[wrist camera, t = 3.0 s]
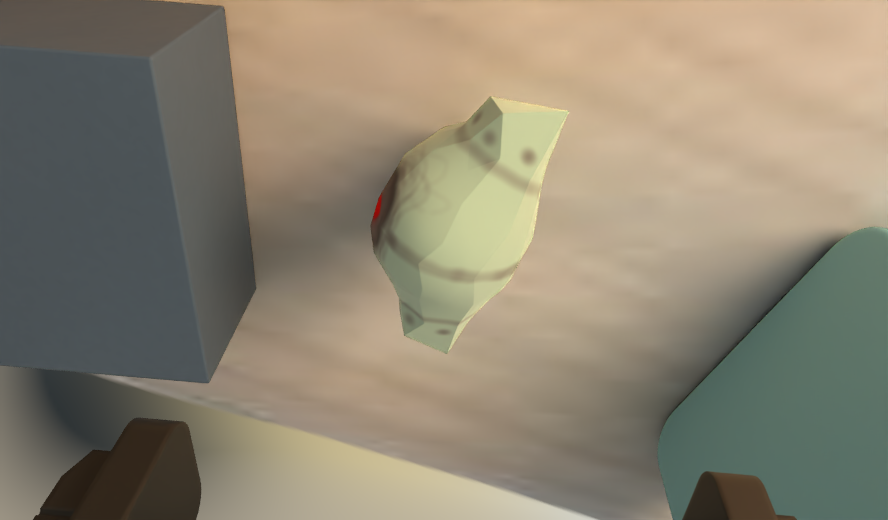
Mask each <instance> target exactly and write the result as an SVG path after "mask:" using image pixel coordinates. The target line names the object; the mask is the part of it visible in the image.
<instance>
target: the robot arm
mask: <svg viewBox="0 0 888 520" xmlns="http://www.w3.org/2000/svg"><path fill="white" fill-rule="evenodd" d="M200 499H201V482H200V477H199V473H198V468H197V463H196V459H195V454H194V449H193V445H192V440H191V436H190V431H189V427H188V425H187V424H186V423H185V422H180V421H170V420H169V421H168V420H158V419H148V418H135V419H133V420H132V421H130V423H128V425H127V426H126V428H125V429H124V431H123V432H122V434H121V436H120V437H119V439H118V440H117V442H116V444H115V445H114V447H113V449H112V450H111V451H102V450H93V451H91V452H90V453H89V454H88V455H87V456H85V457H84V458H83V459H82V460H81V461H79V463H77V464H76V465H75V466H73V467H72V468H71V469H70V470H69V471H67V472H66V473H65V474H64V475H63V476H62V477H61V478H60V480H59V481H58V483H57V484H56V486H55V487H54V489H53V490H52V492H51V493H50V495H49V496H48V498H47V499H46V501H45V502H44V504H43V506H42V507H41V508H40V514H39V515H36V516H35V517H34V519H33V520H196V517H197V514H198V510H199V505H200ZM682 520H797V519H796V518H795V517H794V516H786V515H776V513H775V511H774V508H773V506H772V503H771V501H770V499H769V496H768V494H767V491H766V489H765V487H764V484H763V483H762V481H761V480H760V479H759V478H758V477H756V476H753V475H743V474H732V473H721V472H710V471H705V472H703V473H702V474H701V476H700V478H699V480H698V482H697V485H696V487H695V490H694V492H693V495H692V497H691V499H690V502H689V504H688V507H687V509H686V511H685V514H684V516H683V519H682Z"/></svg>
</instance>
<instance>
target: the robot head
mask: <svg viewBox="0 0 888 520" xmlns="http://www.w3.org/2000/svg"><path fill="white" fill-rule="evenodd" d="M568 112H569V111H566V110H561V109H556V108H550V107H545V106H540V105H534V104H529V103H524V102H519V101H513V100H508V99H503V98H497V97H492V96H490V97H489V99H488V100H487V101H486V102H485V103H484V104H483V105H482V106H481V107H480V108H479V109H478V110H477V111H476V112H475V113H474V114H473V115H472V117H471V118H470V119H469V120H468V121H466V122H462V123H458V124H454V125H450V126H446V127H443V128H442V129H440V130H439V131H437V132H436V133H434V134H433V135H431V136H430V137H429V138H427V139H426V140H424V141H423V142H421V143H420V144H418V145H417V146H415V147H414V148H413V149H411V150H410V151H408V152H407V153H405V155H404V156H403V158H402V160H401V161H400V163H399V165H398V166H397V168H396V170H395V171H394V173H393V175H392V176H391V178H390V180H389V181H388V183H387V185H386V186H385V188H384V190H383V192H382V193H381V195H380V197H379V198H378V202H377V205H376V209H375V212H374V216H373V219H372V222H371V234H372V242H373V250H374V254H375V255H376V257H377V259H378V260H379V262H380V264H381V265H382V267H383V269H384V270H385V272H386V274H387V275H388V277H389V279H390V280H391V282H392V284H393V286H394V288H395V290H396V292H397V295H398V297H399V306H400V315H401V320H402V326H403V331H404V336H406V337H409V338H411V339H413V340H416V341H418V342H420V343H423V344H425V345H427V346H429V347H432V348H434V349H436V350H439V351H441V352H443V353H446V354H447V353H448V352H449V350H450V349H451V347H452V346H453V344H454V343H455V341H456V340H457V338H458V337H459V335H460V333H461V332H462V330H463V329H464V327H465V326H466V324H467V323H468V321H469V320H470V319H471V318H472V317H473V316H474V315H475V314H476V313H477V312H478V311H479V310H480V309H481V308H482V307H483V306H484V305H485V304H486V303H487V302H488V301H489V300H490V299H491V298H493V297H494V296H495V295H496V294H497V293H499V292H500V291H501V290H502V289H503V288H504V287H505V286H506V285H507V283H508V282H509V281H510V280H511V278H512V276H513V274H514V272H515V270H516V268H517V266H518V264H519V262H520V261H521V259H522V257H523V255H524V253H525V251H526V250H527V248H528V246H529V244H530V242H531V241H532V239H533V233H534V228H535V222H536V217H537V211H538V205H539V199H540V193H541V187H542V182H543V178H544V174H545V170H546V167H547V164H548V162H549V159H550V157H551V154H552V152H553V150H554V147H555V145H556V142H557V140H558V137H559V135H560V132H561V130H562V127H563V125H564V122H565V120H566V117H567V115H568Z"/></svg>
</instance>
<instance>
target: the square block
mask: <svg viewBox="0 0 888 520" xmlns="http://www.w3.org/2000/svg"><path fill="white" fill-rule="evenodd" d="M255 290H256V284H255V275H254V266H253V257H252V248H251V240H250V231H249V222H248V213H247V204H246V195H245V187H244V178H243V169H242V160H241V151H240V143H239V134H238V125H237V116H236V107H235V98H234V90H233V81H232V72H231V63H230V54H229V46H228V37H227V28H226V19H225V10H224V7H223V6H215V5H202V4H190V3H177V2H165V1H152V0H0V365H2V366H14V367H25V368H36V369H48V370H59V371H60V370H61V371H71V372H82V373H94V374H105V375H117V376H128V377H140V378H151V379H163V380H174V381H186V382H197V383H209V382H210V380H211V378H212V376H213V374H214V372H215V370H216V368H217V366H218V364H219V362H220V360H221V358H222V356H223V354H224V352H225V350H226V348H227V346H228V344H229V342H230V340H231V338H232V336H233V334H234V332H235V330H236V328H237V326H238V324H239V322H240V320H241V318H242V316H243V314H244V312H245V310H246V308H247V306H248V304H249V302H250V300H251V298H252V296H253V294H254V292H255Z"/></svg>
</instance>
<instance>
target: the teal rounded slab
mask: <svg viewBox="0 0 888 520" xmlns="http://www.w3.org/2000/svg"><path fill="white" fill-rule="evenodd" d="M658 464H659V468H660V472H661V476H662V480H663V483H664V487H665V491H666V495H667V499H668V503H669V506H670V510H671V514H672V518H673V520H682V519H683V516H684V514H685V511H686V509H687V507H688V504H689V502H690V499H691V497H692V495H693V492H694V490H695V487H696V485H697V482H698V480H699V478H700V476H701V474H702V473H703V472H705V471H710V472H721V473H732V474H743V475H753V476H756V477H758V478H759V479H760V480H761V481H762V483H763V484H764V487H765V489H766V491H767V494H768V496H769V499H770V501H771V503H772V506H773V508H774V511H775V513H776V515H786V516H794V517H795V518H796V519H797V520H888V229H887V228H881V227H870V228H864V229H861V230H858V231H855V232H853V233H851V234H849V235H847V236H846V237H844V238H842V239H841V240H840V241H839V242H837V243H836V244H835V245H834V246H833V247H832V248H831V249H830V250H829V251H828V252H827V253H826V254H825V255H824V256H823V257H822V258H821V259H820V260H819V261H818V262H817V263H816V264H815V265H814V266H813V267H812V268H811V270H810V271H809V272H808V273H807V274H806V275H805V276H804V277H803V278H802V279H801V280H800V281H799V282H798V283H797V284H796V285H795V286H794V287H793V288H792V289H791V290H790V291H789V292H788V293H787V294H786V295H785V296H784V297H783V298H782V300H781V301H780V302H779V303H778V304H777V305H776V306H775V307H774V308H773V309H772V310H771V311H770V312H769V313H768V314H767V315H766V316H765V317H764V318H763V319H762V320H761V321H760V322H759V323H758V324H757V325H756V326H755V327H754V328H753V329H752V331H751V332H750V333H749V334H748V335H747V336H746V337H745V338H744V339H743V340H742V341H741V342H740V343H739V344H738V345H737V346H736V347H735V348H734V349H733V350H732V351H731V352H730V353H729V354H728V355H727V356H726V357H725V358H724V359H723V361H722V362H721V363H720V364H719V365H718V366H717V367H716V368H715V369H714V370H713V371H712V372H711V373H710V374H709V375H708V376H707V377H706V378H705V379H704V380H703V381H702V382H701V383H700V384H699V385H698V386H697V387H696V388H695V389H694V390H693V392H692V393H691V394H690V395H689V396H688V397H687V398H686V399H685V400H684V401H683V402H682V403H681V404H680V405H679V406H678V407H677V408H676V409H675V410H674V411H673V412H672V414H671V415H670V416H669V418H668V419H667V421H666V423H665V425H664V427H663V429H662V432H661V435H660V438H659V443H658Z"/></svg>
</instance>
